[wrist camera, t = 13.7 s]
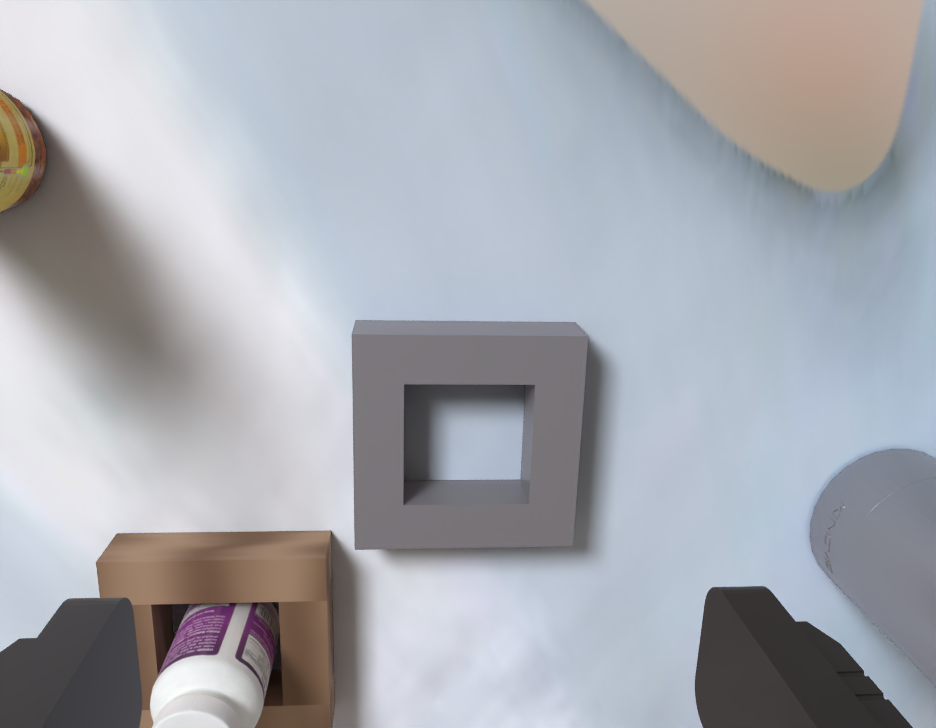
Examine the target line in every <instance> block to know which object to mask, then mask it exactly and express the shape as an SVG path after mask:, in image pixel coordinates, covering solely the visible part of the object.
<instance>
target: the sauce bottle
mask: <svg viewBox="0 0 936 728" xmlns="http://www.w3.org/2000/svg"><path fill="white" fill-rule="evenodd" d="M45 169H46V148H45V144H44V141H43V138H42V134H41V132H40V130H39V128H38V126H37V123H36V122H35V121H34V119H33V117H32V115H31V113H30V112H29V111H28V110H27V109H25V108H24V106H23V105H22V103H21V102H20V100H18V99H16V98H14V97H13V96H12V95H11V94H8V93H6V92H5V91H3V90H1V89H0V213H1V212H3V211H5V210H8V209H11V208H13V207H15V206H17V205H19V204H21V203H22V202H24V201H25V200H27V199H28V198H29V197H30V196H31V195H32V194H33V193H35V191H36V190H37V188H38V187H39V185H40V183H41V182H42V178H43V175H44V174H45Z"/></svg>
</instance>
